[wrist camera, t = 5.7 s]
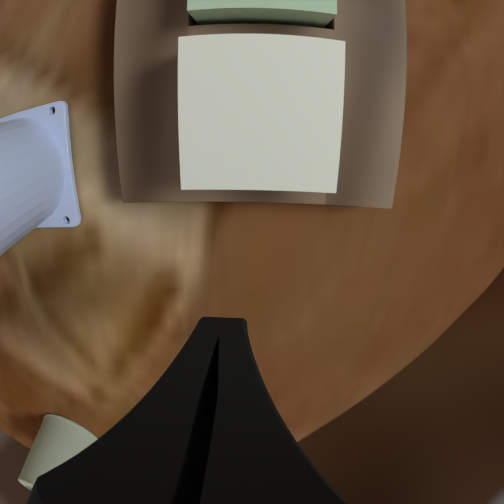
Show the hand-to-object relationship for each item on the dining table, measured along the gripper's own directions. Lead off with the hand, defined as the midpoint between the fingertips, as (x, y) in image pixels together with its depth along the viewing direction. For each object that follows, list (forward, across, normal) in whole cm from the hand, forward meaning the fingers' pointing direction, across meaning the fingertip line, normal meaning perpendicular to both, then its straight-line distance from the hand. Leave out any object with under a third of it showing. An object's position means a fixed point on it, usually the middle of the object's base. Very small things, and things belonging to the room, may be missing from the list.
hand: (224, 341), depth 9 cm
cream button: (+8, -1, -7) cm, 10 cm away
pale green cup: (+10, +24, +31) cm, 40 cm away
